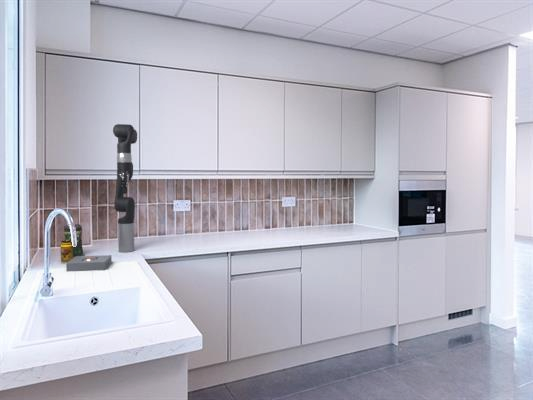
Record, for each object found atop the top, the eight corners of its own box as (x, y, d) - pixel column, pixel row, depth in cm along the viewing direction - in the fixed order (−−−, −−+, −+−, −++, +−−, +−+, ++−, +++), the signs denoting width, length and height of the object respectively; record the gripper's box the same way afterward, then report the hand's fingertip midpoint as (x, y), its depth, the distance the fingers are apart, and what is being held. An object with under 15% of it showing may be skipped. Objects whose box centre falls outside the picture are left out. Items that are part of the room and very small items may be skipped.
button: (85, 264, 207) (85, 257, 207) (97, 263, 208) (97, 256, 208) (82, 267, 201) (82, 259, 201) (94, 266, 202) (94, 259, 202)
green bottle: (81, 254, 234) (80, 223, 232) (84, 256, 227) (83, 224, 226) (63, 256, 228) (62, 224, 227) (65, 259, 222) (64, 226, 220)
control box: (75, 263, 211) (75, 256, 211) (111, 262, 214) (111, 255, 214) (66, 271, 195) (66, 263, 195) (105, 269, 199) (105, 262, 198)
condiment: (61, 264, 210) (60, 241, 209) (58, 261, 217) (57, 239, 216) (76, 262, 215) (75, 240, 214) (72, 259, 221) (72, 237, 221)
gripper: (119, 161, 221) (119, 192, 222) (114, 161, 208) (115, 194, 209) (133, 161, 222) (133, 192, 224) (129, 161, 209) (130, 194, 211)
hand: (125, 193), depth 217 cm, fingers closed
